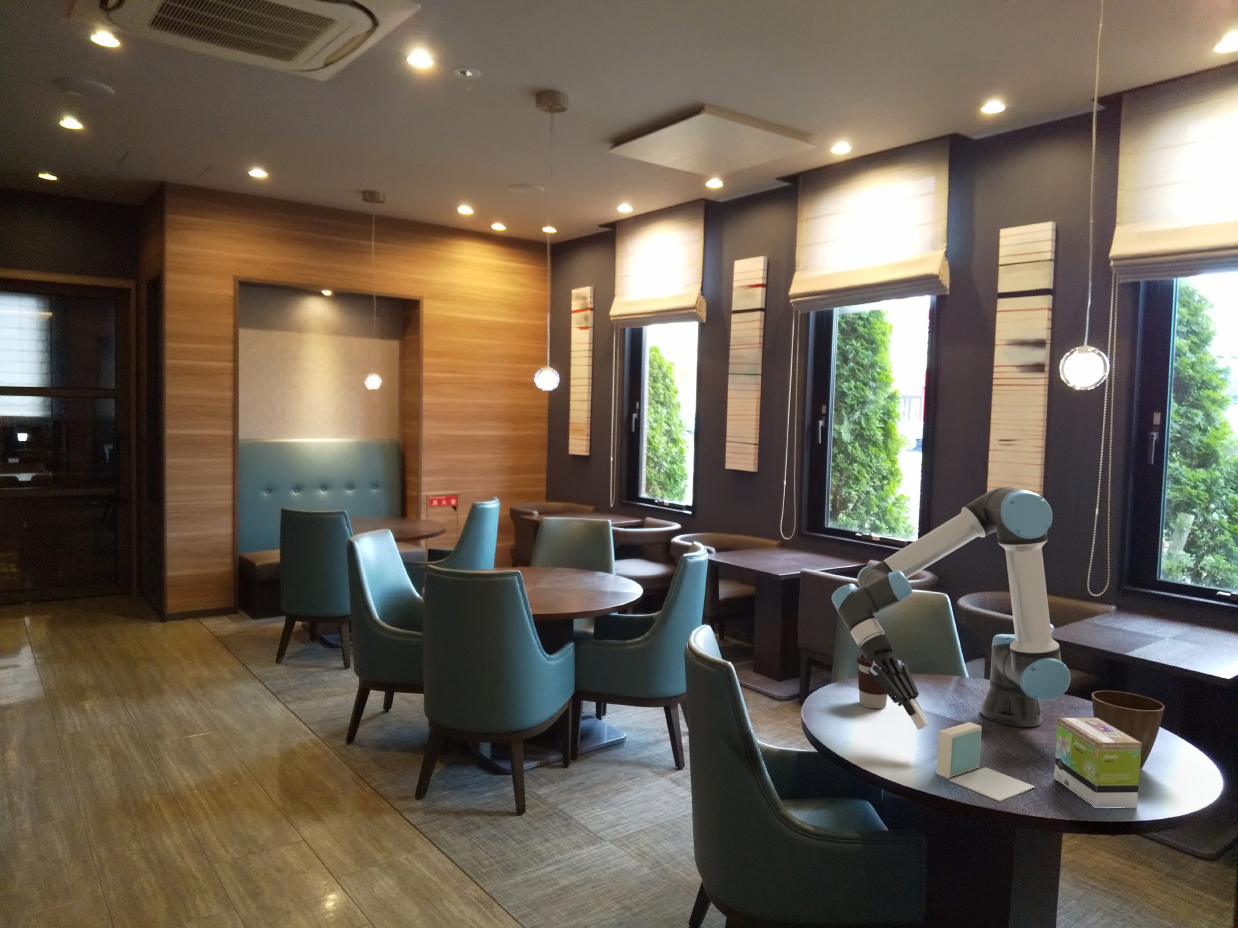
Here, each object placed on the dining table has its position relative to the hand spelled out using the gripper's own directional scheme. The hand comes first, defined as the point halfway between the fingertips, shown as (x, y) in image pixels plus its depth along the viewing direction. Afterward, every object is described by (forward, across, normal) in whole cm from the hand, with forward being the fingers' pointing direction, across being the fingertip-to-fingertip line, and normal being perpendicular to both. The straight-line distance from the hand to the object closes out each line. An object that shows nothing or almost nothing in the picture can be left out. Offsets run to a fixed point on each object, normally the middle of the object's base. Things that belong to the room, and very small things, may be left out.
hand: (923, 726), depth 203 cm
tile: (+12, 0, +2) cm, 12 cm away
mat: (+18, 0, +8) cm, 19 cm away
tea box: (+28, -16, +18) cm, 37 cm away
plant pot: (+25, -40, +15) cm, 49 cm away
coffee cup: (-16, -20, -27) cm, 38 cm away
